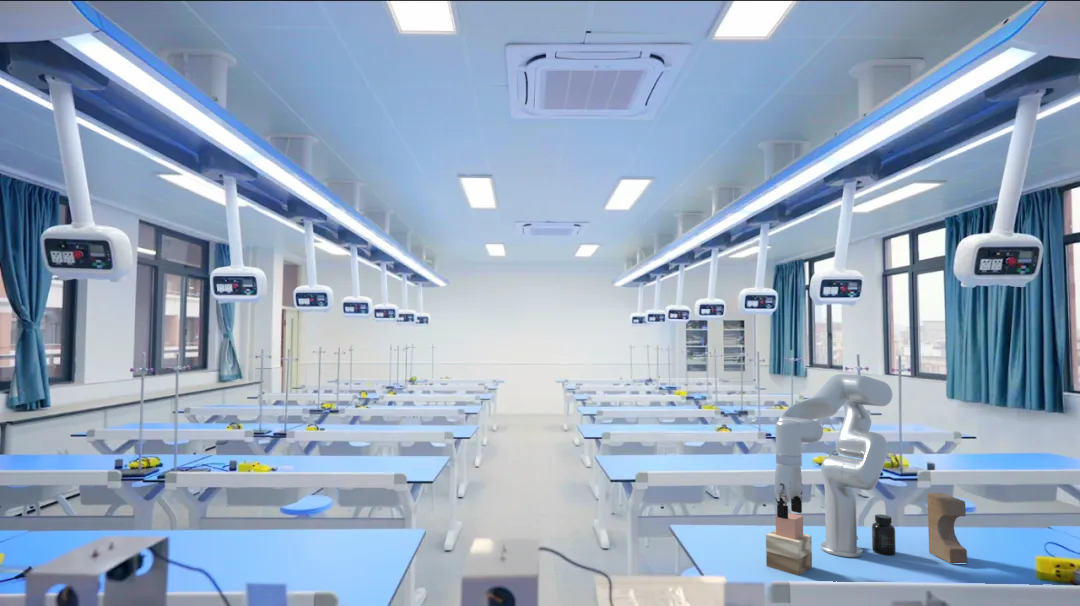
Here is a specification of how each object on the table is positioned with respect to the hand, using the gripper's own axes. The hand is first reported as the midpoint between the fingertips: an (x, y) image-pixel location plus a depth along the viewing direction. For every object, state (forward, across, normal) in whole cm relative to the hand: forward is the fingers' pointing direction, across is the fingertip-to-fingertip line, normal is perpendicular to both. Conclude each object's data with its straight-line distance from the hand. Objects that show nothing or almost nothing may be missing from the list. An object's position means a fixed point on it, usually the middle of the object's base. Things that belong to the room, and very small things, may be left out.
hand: (789, 515), depth 188 cm
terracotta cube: (+6, 0, 0) cm, 6 cm away
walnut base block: (+16, +1, 0) cm, 16 cm away
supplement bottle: (+16, -38, +15) cm, 44 cm away
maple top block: (+11, +1, 0) cm, 11 cm away
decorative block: (+17, -48, +31) cm, 59 cm away
